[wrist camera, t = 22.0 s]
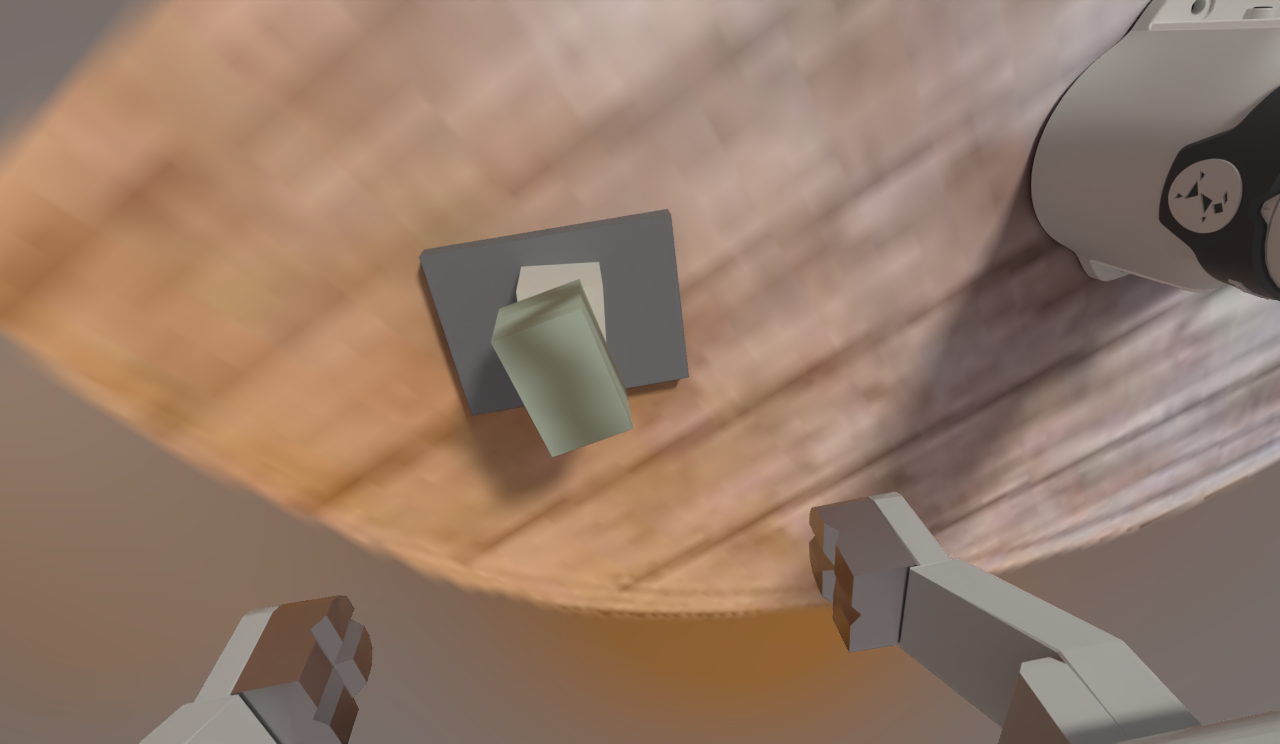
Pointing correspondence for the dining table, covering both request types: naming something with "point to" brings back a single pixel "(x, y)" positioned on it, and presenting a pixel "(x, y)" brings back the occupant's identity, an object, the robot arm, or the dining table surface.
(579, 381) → the sage brick
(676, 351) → the base plate
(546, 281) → the cream brick
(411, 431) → the dining table surface
